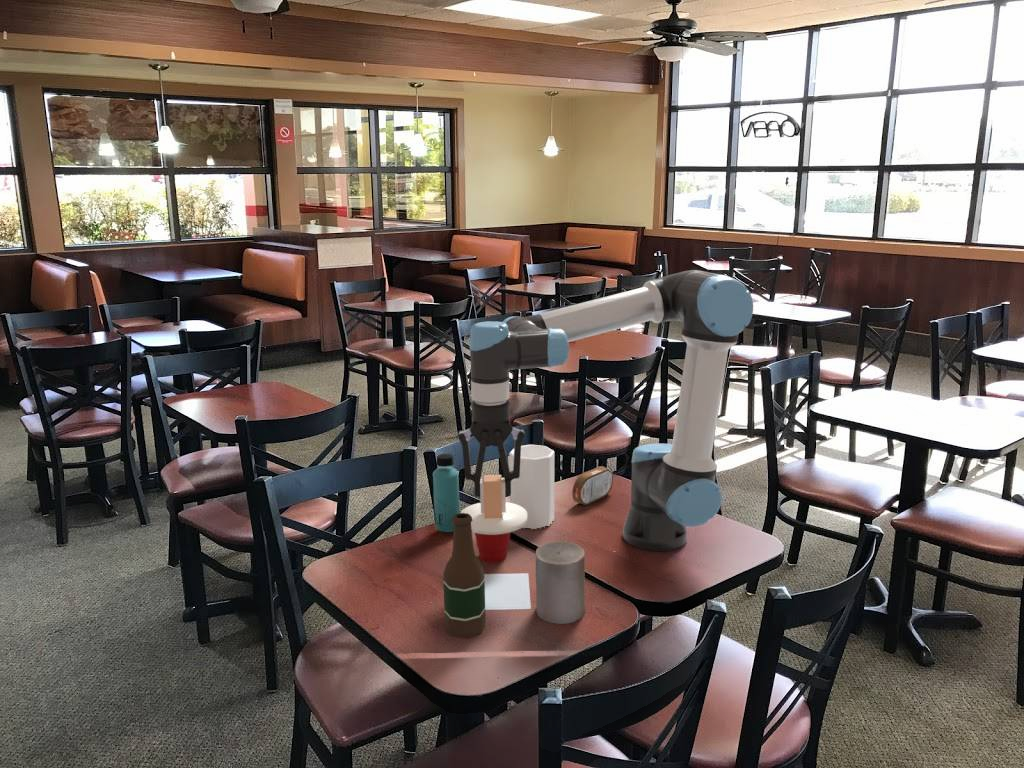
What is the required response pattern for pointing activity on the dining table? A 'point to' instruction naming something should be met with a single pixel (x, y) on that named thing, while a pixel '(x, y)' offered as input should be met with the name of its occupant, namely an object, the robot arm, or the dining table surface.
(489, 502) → the lid
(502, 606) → the mat
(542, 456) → the cup
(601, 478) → the tin
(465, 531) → the beer bottle
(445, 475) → the beverage bottle
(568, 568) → the pillar candle
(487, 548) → the plastic cup
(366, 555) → the dining table surface
